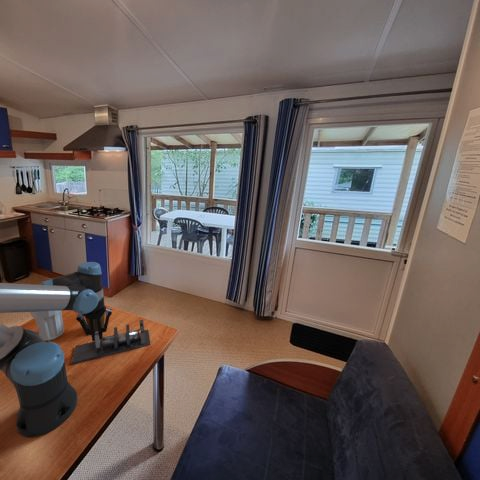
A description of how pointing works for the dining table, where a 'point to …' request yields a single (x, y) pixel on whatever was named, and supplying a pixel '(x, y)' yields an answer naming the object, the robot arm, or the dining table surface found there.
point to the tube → (121, 338)
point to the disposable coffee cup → (96, 322)
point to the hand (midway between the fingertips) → (98, 345)
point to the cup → (49, 324)
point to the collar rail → (110, 346)
